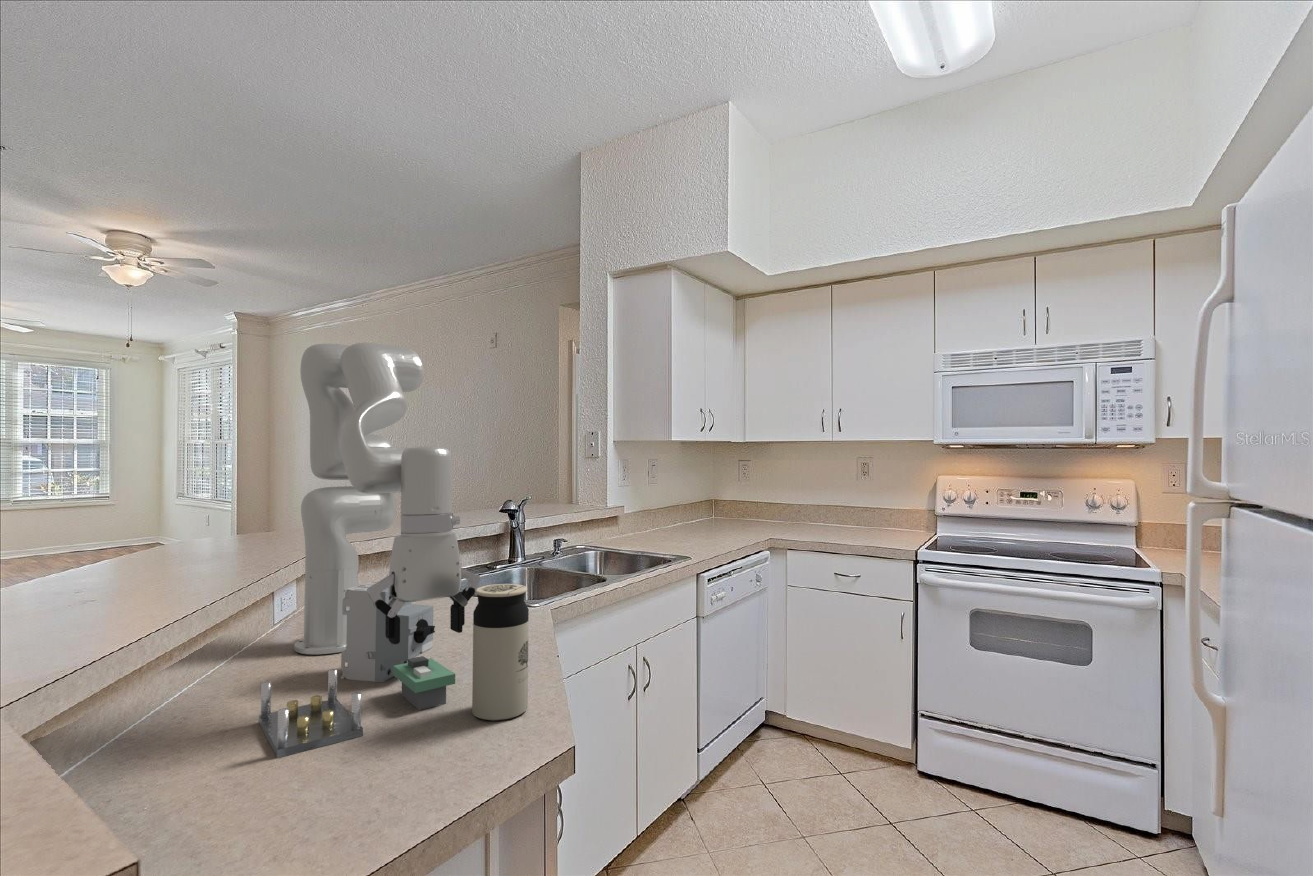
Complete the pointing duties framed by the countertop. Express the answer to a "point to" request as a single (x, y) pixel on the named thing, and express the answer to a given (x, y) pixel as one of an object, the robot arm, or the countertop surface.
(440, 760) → the countertop surface
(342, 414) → the robot arm
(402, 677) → the board
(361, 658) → the circuit breaker
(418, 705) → the block
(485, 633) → the travel mug
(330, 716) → the chassis
